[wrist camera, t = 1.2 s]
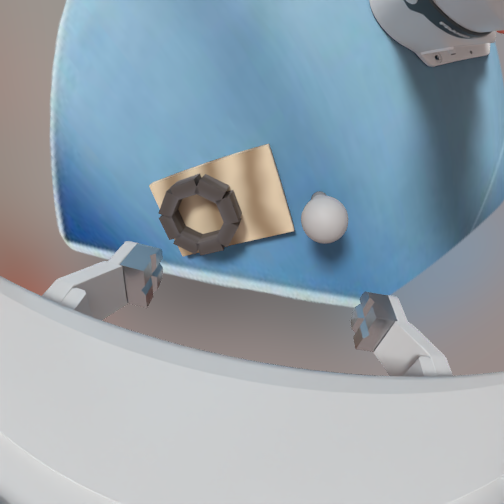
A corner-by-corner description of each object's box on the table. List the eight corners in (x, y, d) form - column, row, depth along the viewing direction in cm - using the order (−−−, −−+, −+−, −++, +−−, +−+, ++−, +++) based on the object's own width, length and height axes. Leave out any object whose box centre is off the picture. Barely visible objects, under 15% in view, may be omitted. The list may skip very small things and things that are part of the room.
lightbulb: (330, 219, 43) (341, 257, 34) (294, 209, 43) (295, 245, 34) (343, 185, 40) (360, 215, 31) (305, 173, 40) (311, 200, 30)
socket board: (269, 143, 38) (266, 149, 34) (294, 226, 45) (294, 240, 41) (152, 182, 43) (140, 192, 39) (185, 251, 50) (177, 266, 46)
